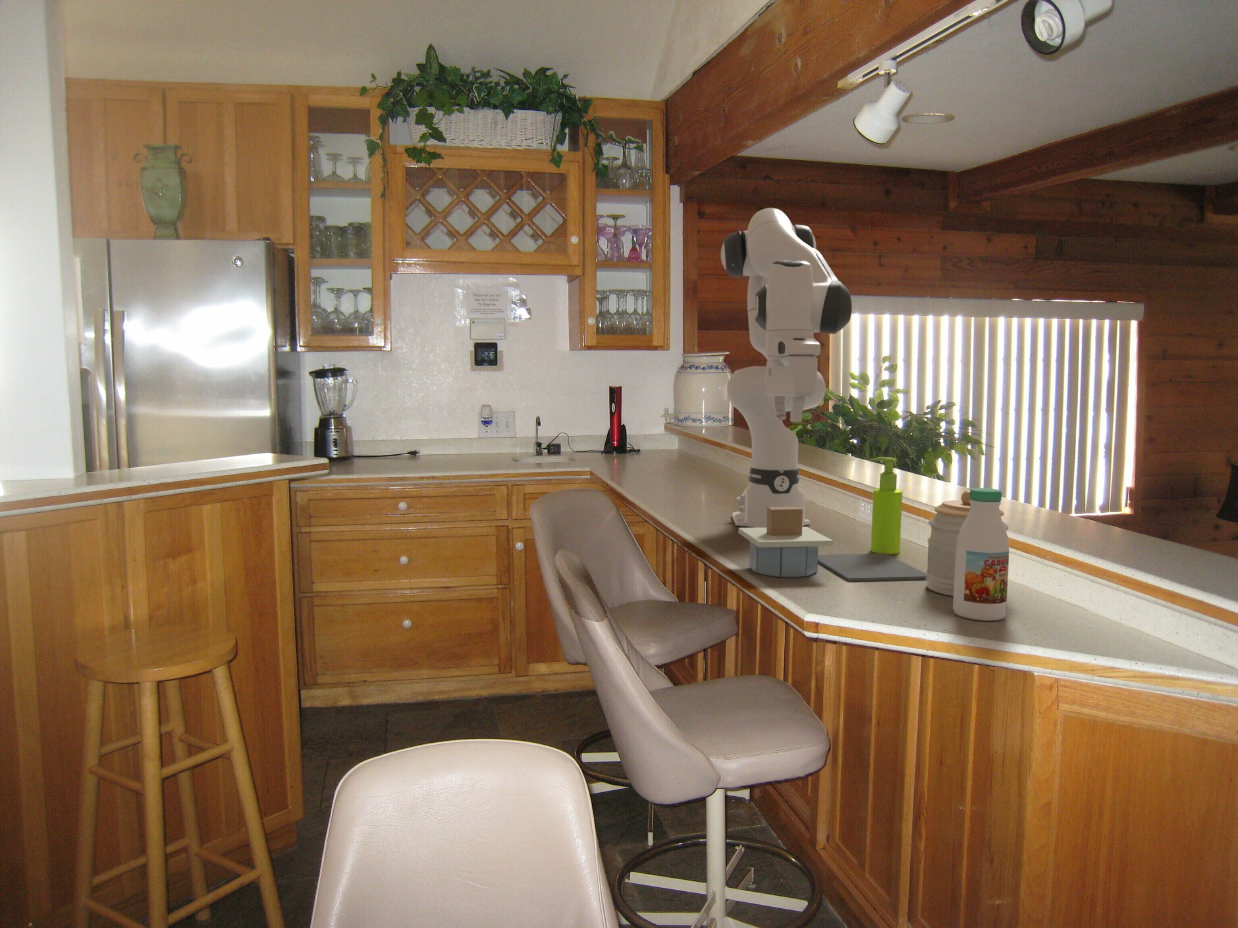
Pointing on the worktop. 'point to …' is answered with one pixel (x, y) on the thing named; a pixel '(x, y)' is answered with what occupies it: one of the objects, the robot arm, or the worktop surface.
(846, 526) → the worktop surface
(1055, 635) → the worktop surface
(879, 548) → the soap dispenser
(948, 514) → the jar
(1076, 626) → the worktop surface
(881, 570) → the mat
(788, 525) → the cover
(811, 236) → the robot arm
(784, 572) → the bowl
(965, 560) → the milk bottle
